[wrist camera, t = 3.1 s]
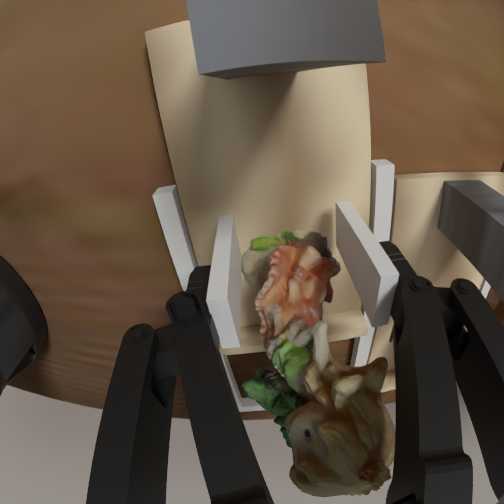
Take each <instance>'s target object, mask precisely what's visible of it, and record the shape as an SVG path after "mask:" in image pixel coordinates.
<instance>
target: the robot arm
mask: <svg viewBox="0 0 504 504" xmlns="http://www.w3.org/2000/svg"><path fill="white" fill-rule="evenodd" d="M336 246H337V249H338V251H339V253H340V255H341V257H342V259H343V261H344V264H345V266H346V268H347V270H348V272H349V275H350V277H351V279H352V281H353V284H354V286H355V288H356V291H357V293H358V295H359V298H360V300H361V302H362V305H363V307H364V309H365V312H366V314H367V317H368V319H369V321H370V324H371V326H372V328H373V327H378V326H383V325H388V323H389V319H390V315H391V317H392V319H393V321H394V324H393V328H392V332H391V335H390V339H389V342H392V339H393V346H394V362H395V386H396V431H395V454H394V469H393V478H392V482H391V484H390V487H389V489H388V493H387V498H386V504H472V491H473V466H472V461H471V458H470V457H469V456H468V455H467V454H465V453H464V451H463V447H462V431H461V420H460V410H459V401H458V395H457V387H456V381H457V384H458V386H459V389H460V391H461V394H462V396H463V399H464V402H465V404H466V407H467V410H468V412H469V415H470V418H471V421H472V424H473V427H474V430H475V433H476V435H477V439H478V442H479V445H480V449H481V452H482V455H483V459H484V463H485V466H486V470H487V474H488V477H489V480H490V484H491V486H492V489H493V491H494V493H495V495H496V497H497V498H498V500H499V501H498V503H497V504H504V326H503V325H502V323H501V322H500V320H499V319H498V317H497V315H496V314H495V312H494V311H493V309H492V308H491V306H490V305H489V303H488V302H487V300H486V299H485V297H484V296H483V295H482V293H481V292H480V290H479V289H478V288H477V286H476V285H475V284H474V283H473V282H471V281H470V280H468V279H464V278H457V279H455V280H453V281H452V282H451V285H450V288H447V287H434V286H433V284H432V283H431V281H429V280H428V279H427V278H424V277H422V276H418V275H417V274H416V272H415V271H414V270H413V268H412V267H411V265H410V264H409V262H408V261H407V260H406V259H405V257H404V255H403V254H401V251H400V250H399V248H398V247H397V246H396V245H395V244H393V243H391V242H390V241H382V242H378V241H377V239H376V238H375V236H374V235H373V233H372V232H371V230H370V229H369V228H368V226H367V225H366V223H365V222H364V221H363V219H362V218H361V216H360V215H359V214H358V212H357V211H356V210H355V208H354V207H353V205H352V204H351V203H350V201H349V200H348V201H338V202H336ZM166 310H167V312H168V314H169V316H170V319H171V321H172V323H171V324H170V325H167V326H165V327H162V328H159V329H156V330H153V328H152V327H151V326H150V325H148V324H138V325H135V326H133V327H131V328H130V329H129V330H127V331H126V333H125V335H124V336H123V339H122V343H121V346H120V349H119V353H118V356H117V359H116V363H115V366H114V370H113V374H112V377H111V381H110V385H109V389H108V392H107V396H106V400H105V405H104V409H103V413H102V418H101V422H100V426H99V431H98V436H97V441H96V445H95V451H94V456H93V461H92V467H91V473H90V479H89V486H88V493H87V500H86V504H166V483H167V467H168V453H169V440H170V429H171V419H172V408H173V399H174V390H175V381H176V375H178V374H181V378H182V383H183V388H184V394H185V399H186V403H187V408H188V413H189V418H190V422H191V427H192V431H193V435H194V440H195V443H196V448H197V452H198V456H199V460H200V464H201V467H202V471H203V474H204V478H205V482H206V485H207V489H208V492H209V496H210V499H211V504H274V502H273V500H272V497H271V495H270V492H269V490H268V487H267V485H266V482H265V480H264V477H263V475H262V472H261V470H260V467H259V465H258V462H257V459H256V457H255V454H254V451H253V449H252V446H251V443H250V441H249V438H248V435H247V432H246V429H245V426H244V424H243V421H242V418H241V415H240V412H239V409H238V406H237V403H236V400H235V397H234V394H233V391H232V388H231V385H230V382H229V379H228V376H227V373H226V370H225V367H224V363H223V360H222V357H221V354H220V351H219V343H220V344H221V347H222V349H224V348H235V347H240V327H241V253H240V247H239V242H238V237H237V232H236V227H235V222H234V216H233V215H227V216H221V217H219V221H218V227H217V233H216V239H215V245H214V251H213V257H212V264H211V265H206V266H198V267H195V268H194V270H193V271H192V272H191V273H190V276H189V280H188V285H187V289H186V291H182V292H179V293H177V294H175V295H173V296H172V297H171V298H170V299H169V300H168V301H167V303H166ZM464 326H465V328H466V329H467V331H466V329H465V328H464ZM46 337H47V327H46V322H45V319H44V316H43V314H42V311H41V309H40V307H39V305H38V303H37V301H36V300H35V298H34V296H33V295H32V293H31V292H30V290H29V289H28V287H27V286H26V284H25V283H24V282H23V280H22V279H21V278H20V277H19V275H18V274H17V273H16V272H15V271H14V270H13V268H12V267H11V266H10V265H9V264H8V263H7V262H6V261H5V260H4V259H3V258H2V257H0V396H1V394H2V391H3V389H4V388H5V386H6V385H8V384H9V383H10V382H11V381H12V380H13V379H14V378H15V377H16V376H17V375H18V374H19V373H20V372H21V371H22V370H23V369H24V368H26V367H27V366H28V365H29V364H30V363H31V362H32V361H33V360H34V359H35V358H36V357H37V356H38V354H39V352H40V350H41V348H42V346H43V344H44V342H45V341H46ZM455 379H456V380H455Z"/></svg>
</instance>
